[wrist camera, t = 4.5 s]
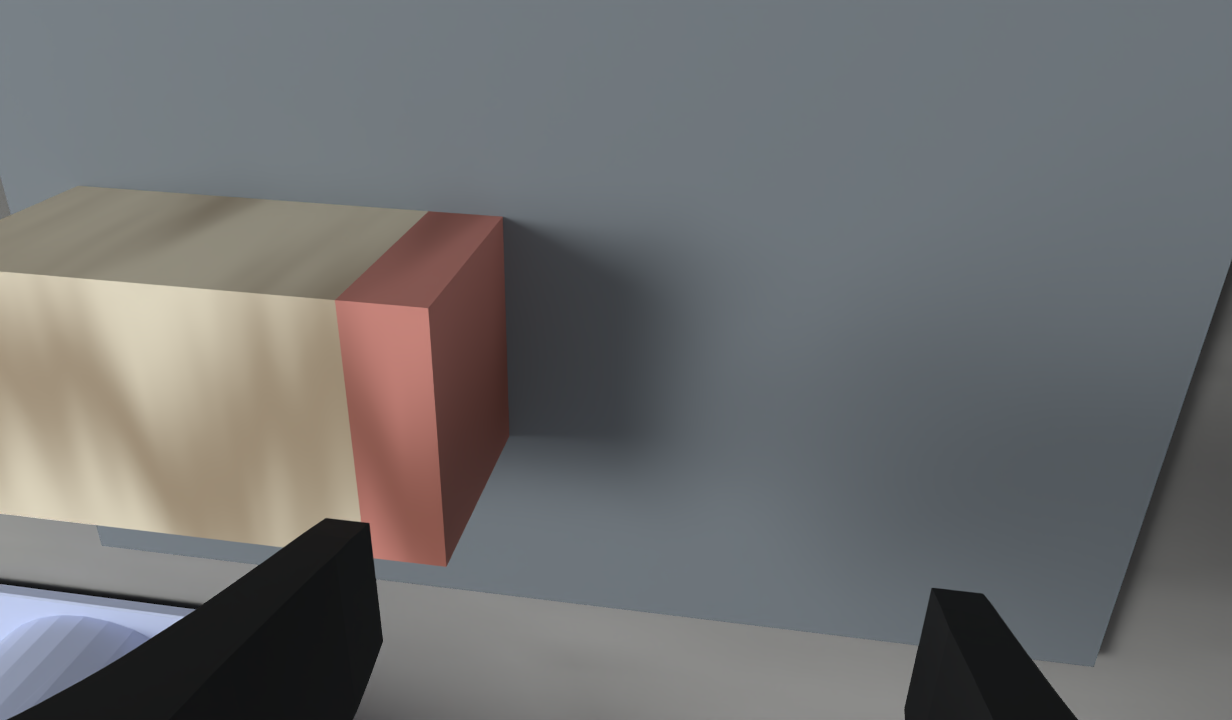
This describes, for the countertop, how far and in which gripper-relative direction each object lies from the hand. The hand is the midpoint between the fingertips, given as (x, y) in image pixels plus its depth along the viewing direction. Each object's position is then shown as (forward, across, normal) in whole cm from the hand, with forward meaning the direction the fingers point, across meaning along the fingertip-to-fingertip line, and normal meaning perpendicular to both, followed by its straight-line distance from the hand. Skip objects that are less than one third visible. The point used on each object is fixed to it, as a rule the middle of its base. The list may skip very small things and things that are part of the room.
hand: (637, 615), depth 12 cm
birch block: (+6, +4, 0) cm, 7 cm away
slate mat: (+8, +2, -1) cm, 9 cm away
